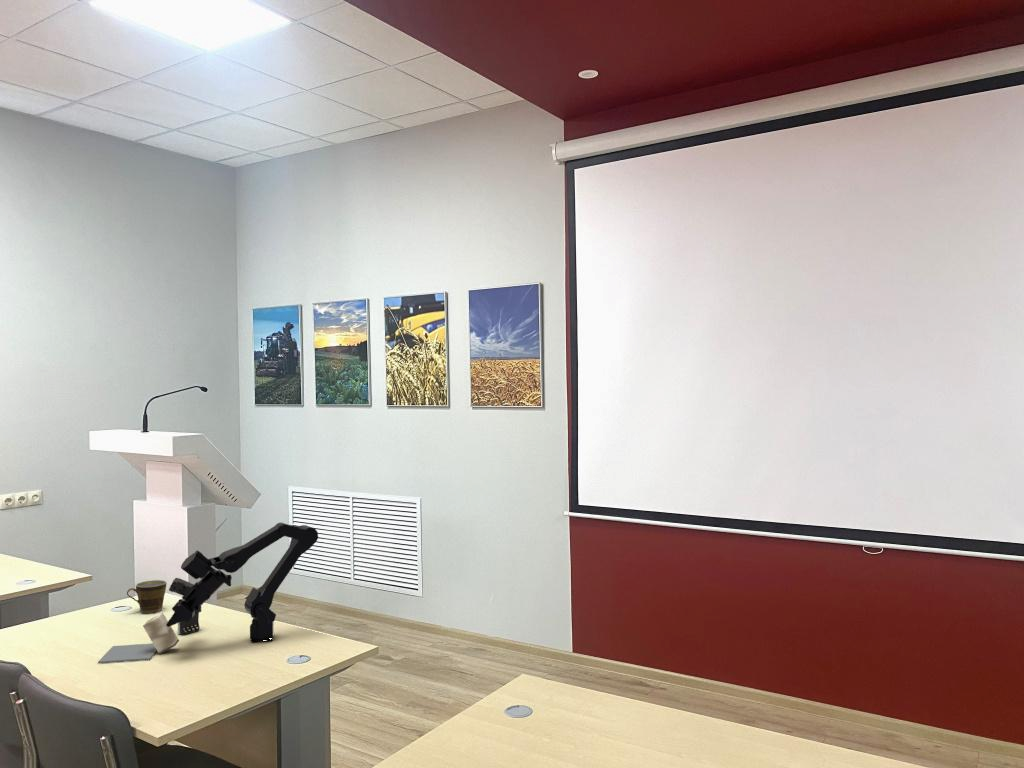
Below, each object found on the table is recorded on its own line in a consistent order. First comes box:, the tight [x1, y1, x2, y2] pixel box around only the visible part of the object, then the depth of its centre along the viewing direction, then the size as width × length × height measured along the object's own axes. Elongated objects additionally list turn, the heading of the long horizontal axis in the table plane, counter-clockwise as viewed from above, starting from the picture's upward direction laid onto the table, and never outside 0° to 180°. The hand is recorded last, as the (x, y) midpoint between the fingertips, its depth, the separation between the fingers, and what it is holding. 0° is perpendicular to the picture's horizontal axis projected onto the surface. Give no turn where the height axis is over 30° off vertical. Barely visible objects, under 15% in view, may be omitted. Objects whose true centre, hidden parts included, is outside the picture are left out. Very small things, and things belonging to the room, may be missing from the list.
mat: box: [97, 642, 158, 664], centre depth 227 cm, size 14×14×1 cm
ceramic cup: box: [126, 579, 167, 615], centre depth 271 cm, size 13×10×10 cm
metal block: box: [142, 612, 180, 655], centre depth 229 cm, size 5×5×10 cm
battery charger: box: [177, 597, 202, 635], centre depth 248 cm, size 7×4×11 cm, turn 147°
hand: (167, 625), depth 229 cm, fingers closed
